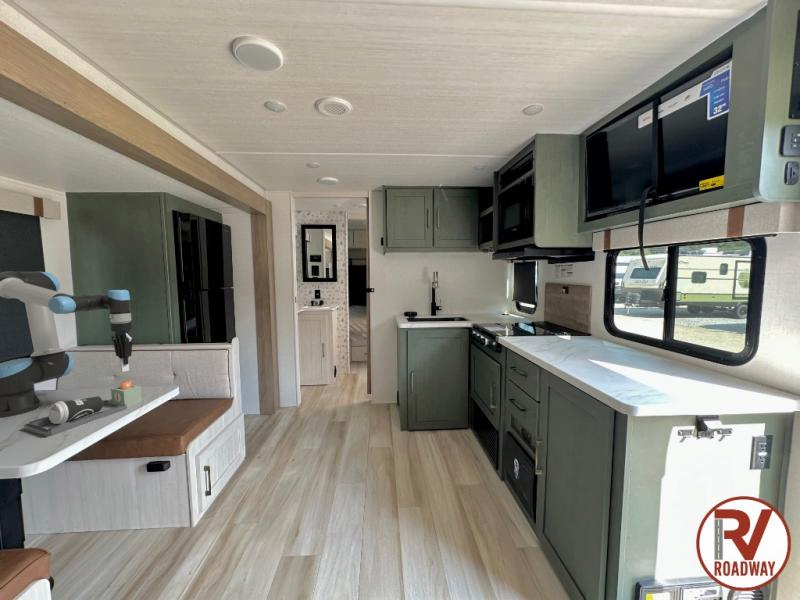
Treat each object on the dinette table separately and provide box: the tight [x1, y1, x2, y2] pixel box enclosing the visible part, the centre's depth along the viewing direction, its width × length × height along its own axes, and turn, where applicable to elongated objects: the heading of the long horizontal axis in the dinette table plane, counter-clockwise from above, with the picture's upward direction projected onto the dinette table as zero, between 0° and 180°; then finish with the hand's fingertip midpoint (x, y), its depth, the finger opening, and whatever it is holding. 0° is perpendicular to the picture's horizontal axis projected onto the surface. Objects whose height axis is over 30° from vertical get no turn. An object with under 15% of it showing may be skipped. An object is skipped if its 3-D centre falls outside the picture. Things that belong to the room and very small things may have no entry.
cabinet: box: [110, 384, 143, 407], centre depth 152 cm, size 10×8×8 cm
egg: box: [119, 380, 132, 390], centre depth 152 cm, size 4×4×6 cm
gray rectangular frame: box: [23, 399, 128, 438], centre depth 136 cm, size 17×26×2 cm, turn 159°
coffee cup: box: [47, 395, 104, 425], centre depth 137 cm, size 10×10×15 cm
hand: (124, 370), depth 151 cm, fingers closed
